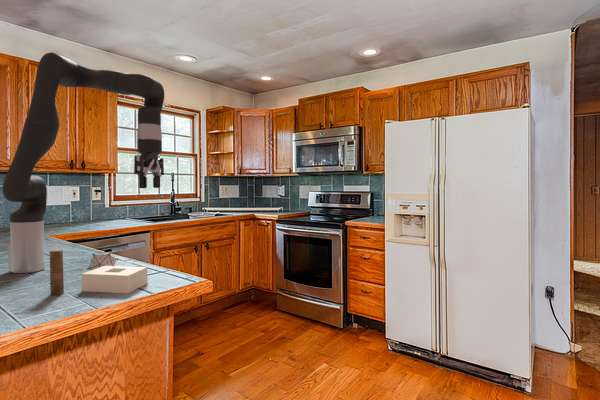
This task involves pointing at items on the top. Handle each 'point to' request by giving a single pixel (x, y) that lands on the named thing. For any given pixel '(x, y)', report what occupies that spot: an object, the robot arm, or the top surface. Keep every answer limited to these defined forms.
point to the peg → (56, 272)
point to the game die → (102, 261)
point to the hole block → (114, 279)
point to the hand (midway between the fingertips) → (150, 188)
